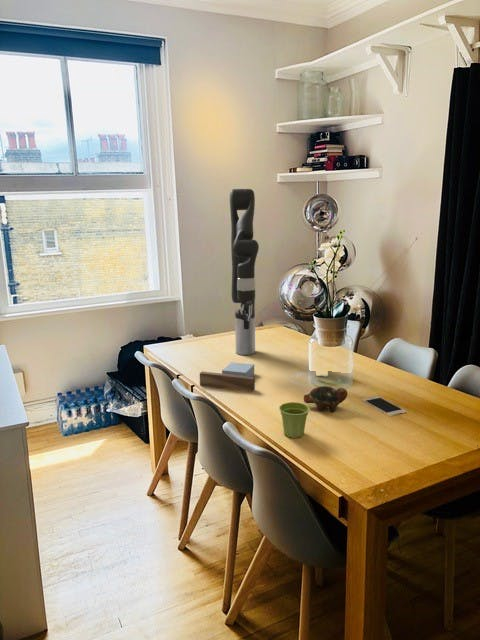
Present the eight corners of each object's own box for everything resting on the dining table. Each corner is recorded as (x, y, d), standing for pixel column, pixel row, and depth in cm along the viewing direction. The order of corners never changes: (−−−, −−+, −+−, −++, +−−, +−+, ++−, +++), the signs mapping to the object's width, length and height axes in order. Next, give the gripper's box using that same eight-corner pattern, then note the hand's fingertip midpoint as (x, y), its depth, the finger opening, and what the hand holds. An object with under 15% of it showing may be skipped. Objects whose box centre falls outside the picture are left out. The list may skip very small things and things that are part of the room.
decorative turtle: (348, 414, 175) (347, 392, 172) (303, 415, 178) (301, 393, 175) (347, 402, 184) (347, 381, 182) (304, 402, 187) (303, 382, 185)
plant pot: (310, 428, 165) (311, 403, 163) (307, 442, 156) (308, 415, 154) (281, 426, 167) (281, 401, 165) (276, 439, 158) (276, 412, 156)
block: (231, 372, 220) (231, 362, 219) (254, 374, 217) (254, 364, 216) (222, 380, 210) (222, 370, 209) (245, 383, 207) (245, 372, 206)
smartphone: (389, 417, 173) (389, 414, 173) (361, 401, 187) (361, 399, 187) (406, 413, 176) (407, 411, 176) (377, 398, 190) (378, 395, 189)
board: (202, 383, 207) (202, 371, 205) (254, 389, 199) (254, 377, 198) (200, 385, 204) (199, 373, 203) (252, 391, 197) (252, 379, 196)
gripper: (243, 285, 222) (243, 324, 226) (231, 290, 210) (232, 332, 214) (259, 286, 220) (260, 326, 224) (249, 291, 208) (249, 333, 211)
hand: (246, 328), depth 219 cm, fingers closed
